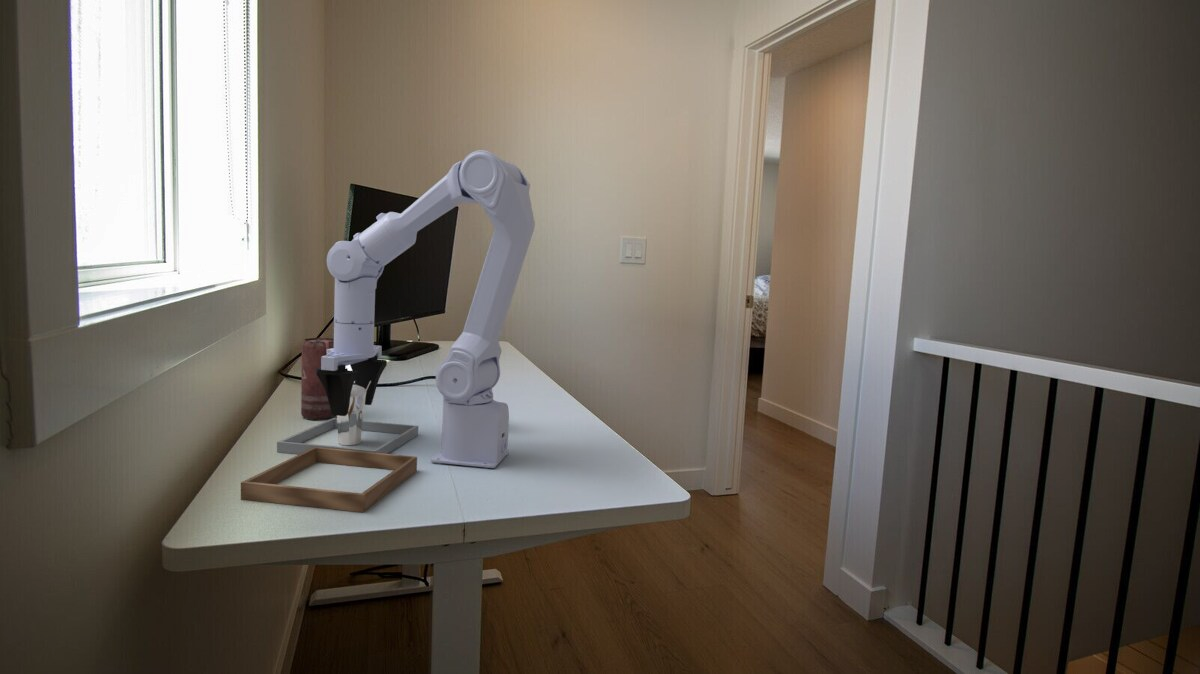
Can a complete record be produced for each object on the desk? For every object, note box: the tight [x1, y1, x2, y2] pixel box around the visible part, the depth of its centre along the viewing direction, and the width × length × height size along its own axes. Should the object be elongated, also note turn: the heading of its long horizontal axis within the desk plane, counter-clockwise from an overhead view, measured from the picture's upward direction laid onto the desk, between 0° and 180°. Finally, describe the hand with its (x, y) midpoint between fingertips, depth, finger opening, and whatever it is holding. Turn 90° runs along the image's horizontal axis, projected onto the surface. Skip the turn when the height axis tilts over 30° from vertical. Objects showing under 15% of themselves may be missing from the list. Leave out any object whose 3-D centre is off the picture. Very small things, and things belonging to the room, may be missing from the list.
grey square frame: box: [276, 417, 419, 455], centre depth 96 cm, size 15×15×2 cm
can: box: [300, 337, 337, 421], centre depth 109 cm, size 6×6×14 cm
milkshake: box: [336, 381, 371, 446], centre depth 95 cm, size 4×5×10 cm
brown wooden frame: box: [240, 447, 418, 513], centre depth 78 cm, size 15×15×2 cm
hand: (352, 409), depth 95 cm, fingers open, 7 cm apart
